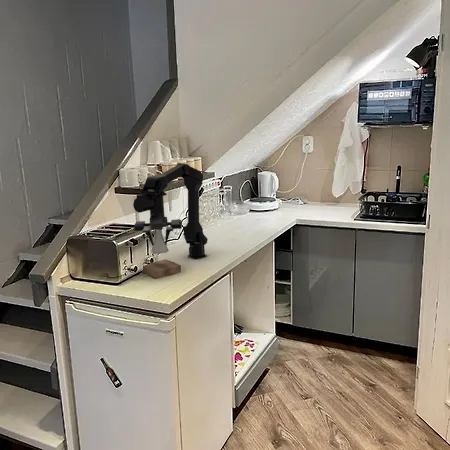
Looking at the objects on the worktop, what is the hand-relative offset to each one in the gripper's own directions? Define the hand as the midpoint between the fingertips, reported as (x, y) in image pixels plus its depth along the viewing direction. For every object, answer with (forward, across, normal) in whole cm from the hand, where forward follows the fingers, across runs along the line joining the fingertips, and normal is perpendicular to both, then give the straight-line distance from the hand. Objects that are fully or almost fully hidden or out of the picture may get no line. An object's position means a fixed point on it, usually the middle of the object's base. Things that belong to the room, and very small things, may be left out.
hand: (159, 245), depth 187 cm
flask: (+3, 0, 0) cm, 3 cm away
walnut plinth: (+12, 0, 0) cm, 12 cm away
